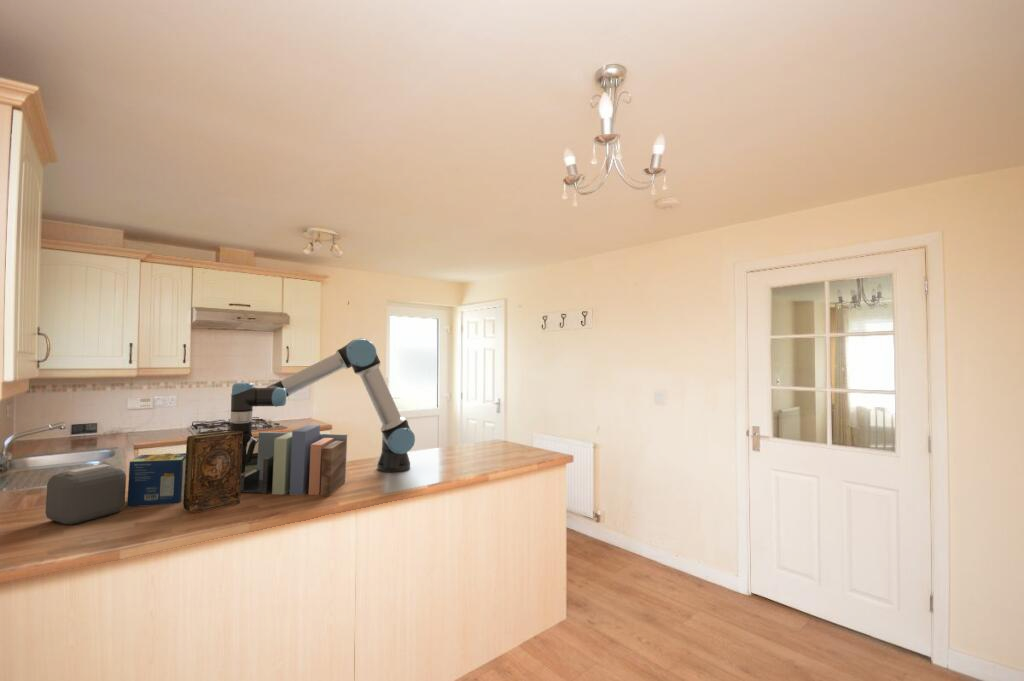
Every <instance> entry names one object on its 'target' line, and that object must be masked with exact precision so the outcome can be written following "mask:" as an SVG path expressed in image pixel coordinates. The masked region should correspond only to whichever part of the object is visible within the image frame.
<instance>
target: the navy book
mask: <svg viewBox="0 0 1024 681" xmlns="http://www.w3.org/2000/svg"><path fill="white" fill-rule="evenodd" d="M291 432H292V448H291V470H290V491H289V495H295V496H296V495H299V496H300V495H301V496H304V494H306V493H307V492H309V473H310V451H311V444H313V443H315V442H317V441H319V440H320V434H321V425H320V424H319V425H317V424H307V425H304V426H302V427H298V428H297V429H295V430H292V431H291Z"/></svg>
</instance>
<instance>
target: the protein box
mask: <svg viewBox="0 0 1024 681" xmlns="http://www.w3.org/2000/svg"><path fill="white" fill-rule="evenodd" d="M185 464H186V452H185V453H161V454H159V453H158V454H140V455H139V456H137V457H135V458H133V459H132V460H130V461H129V466H128V467H129V468H128V484H127V485H128V486H127V487H128V489H127V502H126V503H127V504H126V507H127V506H131V507H140V506H139V505H146V506H157V505H156V504H158V506H159V504H161V505H174V504H180V503H181V502H182V501H183V500H184V482H185Z"/></svg>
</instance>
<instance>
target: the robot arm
mask: <svg viewBox="0 0 1024 681" xmlns="http://www.w3.org/2000/svg"><path fill="white" fill-rule="evenodd" d="M381 363H382V362H381V361H380V358H379V356H378V353H377V348H376V346H375V343H373V342H372V341H370V340H368V338H362V337H361V338H356V339H352V340H351V341H349V343H347V344H346V345H344V346H342V347H341V348H339V349H337V350H336V351H335V353H334V354H332V355H330V356H327V357H325V358H324V359H321V360H320V361H318V362H316V363H313V364H311V365H309V366H307V367H305V368H303V369H301V370H298V371H297V372H295V373H293V374H291V375H289V376H287V377H285V378H283V379H281V380H279V381H277V382H275V383H272V384H270V385H268V386H266V387H255V386H254V383H253V382H235V383H233V385H232V388H231V394H230V399H231V400H230V420H229V421H230V423H229V432H230V431H242V432H243V444H242V465H241V476H243V475H244V473H245V472H246V465H247V464H249V463H251V461H252V457H253V455H254V452H255V448H256V445H257V444H258V439H259V438H254V436H253V434H252V431H253V430H252V428H253V422H252V421H253V409H254V407H284V406H286V404H287V397H289V396H291V395H294V394H295V393H298V392H300V391H301V390H304V389H305V388H307V387H309V386H311V385H314V384H315V383H318V382H319V381H321V380H323V379H325V378H327V377H330V376H331V375H333V374H335V373H337V372H339V371H341V370H343V369H346V370H349V368H352V370H353V372H354V374H355V375H358V376H360V379H361V380H362V383H363V386H364V387H365V390H366V392H367V394H368V396H369V398H370V400H371V403H372V405H373V407H374V409H375V412H376V414H377V416H378V418H379V420H380V422H381V428H380V432H381V434H382V438H381V439H382V440H381V453H380V456H379V458H378V461H377V466H376V469H377V471H380V472H384V473H398V472H399V473H400V472H406V471H408V470H410V469H411V461H410V458H409V454H408V452H409V451H411V450H412V448H413V447H414V446H415V442H416V437H415V433H414V432H413V430H411V428H410V426H409V420H408V419H406V417H404V416H401V414H400V412H399V409H398V407H397V405H396V403H395V401H394V398H393V397H392V396H393V395H392V394H391V391H390V389H389V388H388V385H387V383H386V380H385V378H384V376H383V374H382V373H383V372H381V369H380V365H381ZM248 443H249V445H248Z"/></svg>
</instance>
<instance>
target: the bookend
mask: <svg viewBox="0 0 1024 681" xmlns="http://www.w3.org/2000/svg"><path fill="white" fill-rule="evenodd" d="M273 463H274V455H271V456H269V457H267V458H265V459H264V463H263V480H259V477H260V470H257V469H253V470H251V471H249V472H247V473H245V474H243V476H241V487H240V493H254V494H255V493H256V494H257V493H258V494H259V493H261V494H263V495H264V494H265V495H266V494H268V493H269V492H272V485H273Z"/></svg>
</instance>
